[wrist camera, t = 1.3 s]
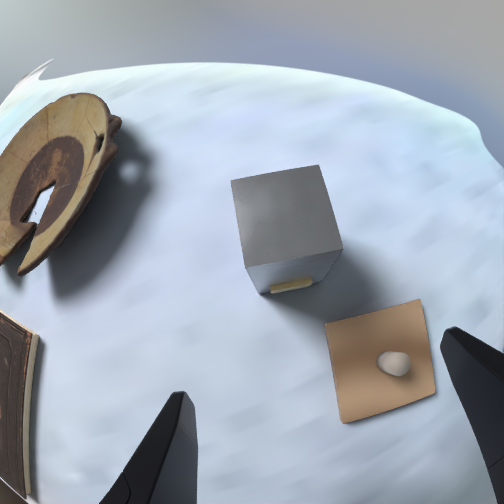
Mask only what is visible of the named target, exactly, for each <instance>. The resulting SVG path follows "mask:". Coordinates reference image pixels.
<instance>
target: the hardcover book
mask: <svg viewBox="0 0 504 504" xmlns="http://www.w3.org/2000/svg"><path fill="white" fill-rule="evenodd" d="M38 339H39V335H38V334H36V333H34V332H33V331H31V330H29V329H28V328H26V327H25V326H23V325H22V324H20V323H19V322H17V321H16V320H14V319H13V318H11V317H10V316H8V315H7V314H5V313H4V312H2V311H1V310H0V477H1V478H2V479H3V480H4V481H5V482H6V483H8V484H9V485H10V486H11V487H12V488H13V489H14V490H15V491H16V492H17V493H19V494H20V495H21V496H22V497H23V498H24V499H27V496H26V495H27V494H29V493H31V485H30V470H29V416H30V401H31V389H32V380H33V372H34V364H35V357H36V351H37V345H38Z"/></svg>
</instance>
